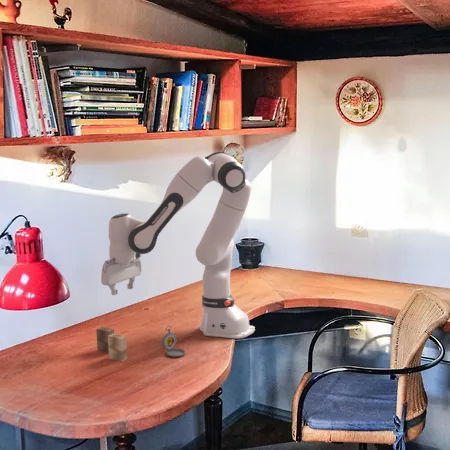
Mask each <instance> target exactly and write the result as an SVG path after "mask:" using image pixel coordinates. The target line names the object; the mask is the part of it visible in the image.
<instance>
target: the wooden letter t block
mask: <svg viewBox="0 0 450 450" xmlns="http://www.w3.org/2000/svg"><path fill="white" fill-rule="evenodd" d="M127 340H128V339H127V335H123V334H117V333H114V334H111V335H109V336H108V348H109V353H108V359H110V360H112V361H113V360H114V361H118V362H123V361H124V362H125V360H128V347H127V346H128V345H127V343H128V342H127Z"/></svg>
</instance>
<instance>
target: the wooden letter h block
mask: <svg viewBox="0 0 450 450" xmlns="http://www.w3.org/2000/svg"><path fill="white" fill-rule="evenodd" d="M95 333H96V346H97V347H96V348H97V352H100V353H105V354H109V348H108V336H109V335H111V334H115V328H110V327H106V326H100V327H97V328H96V332H95Z"/></svg>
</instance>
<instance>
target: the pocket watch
mask: <svg viewBox="0 0 450 450" xmlns="http://www.w3.org/2000/svg"><path fill="white" fill-rule="evenodd" d="M171 330H172V326H170V325H168V326H166V328H165V331H167V333H165V334H164V336H163V338H162V340H161V346H162V349H164V350H165V351H167V352H166V355H167V356H168V357H171V358H179V357H180V358H181V357H183V356H185V354H186V350H185V349H182V348H175V347H176V345H177V341H178V340H177V335H176V333H174V332H173V331H171Z"/></svg>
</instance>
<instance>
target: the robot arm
mask: <svg viewBox="0 0 450 450" xmlns="http://www.w3.org/2000/svg"><path fill="white" fill-rule="evenodd" d="M213 181H215V182H216V183H217V184H219V185H220V186H221V187H222V192H221V194H220V196H219V197H220V198H219V200H218V202H217V205H216V208H215V210H214V213H213V215H212V218H211V220H210V222H209V224H208V226H207V227H206V229H205V231H204V233H203V235H202V237H201V239H200V241H199V243H198V245H197V246H196V249H195V257H196V259H197V261H198V262H199V263H200V264H201V265H203V266H204V270H203V273H202V296H201V305H202V317H201V324H200V327H199V330H200V331H201V332H202V335H203V336H208V337H217V338H219V337H220V338H225V339H227V338H228V339H243V338H246V337H248V336H250V335H252V334H254V332H255V331H256V329H255V328H256V327H255V326H254V325H250V320H249V317H248V315H247V314H246V313H245V312H244V311H243V310H242V309H240V307H239V306H237V305H236V303H235V301H236V300H237V297H236V296H235V297H233V296H232V294H231V271H232V270H231V269H232V265H233V264H232V263H233V262H232V261H233V252H234V248H235V241H234V236H235V234H236V232H237V231H238V229H239V227H240V225H241V222H242V220H243V217H244V215H245V213H246V210H247V208H248V204H249V201H250V198H251V197H250V196H251V194H252V193H251V191H252V185H251V183H250V182H249V181H248V180H247V179H246V171H245V168H244V167H243V165H242V164H241V163H239V162H238V160H237V159H236V158H235V157H233V156H230V155H229V154H228V153H227V152H224V151H216V152H213V153H210V154H209V155H207V156H205V157H203V156H199V155H198V156H195V157H193V158H192V159H191V160H189V161H188V162H187V163H186V164H184V165H183V167H181V168H180V169H179V171H177V173H176V174H175V175H174V176H173V178H172V180H171V181H170V182H169V185H168V186H167V188H166V191H165V194H164V195H163V196H164V197H163V199H162V201H161V203H160V204H159V206H158V207H157V208H156V210H155V211H154V212H153V214H151V215H150V217H149V218H148V220H146V221H145V220H141V219H138V218H137V217H134V216H132V215H131V214H130V213H127V212H126V213H120V214H116V215H113V216H112V217H111V218H110V219H109V222H108V223H109V224H108V239H109V249H108V250H109V252H108V253H109V259H107V260H105V261H104V263H103V264H102V267H101V275H100V276H101V277H100V279H101V280H100V282H101V284H102V285H103V286H106V287H107V286H108V287H109V289H110V291H111V294H110V295H112V296H116V295H118V294H119V293H118V289H116V284H119V283H122V282H123V281H126V280H128V284H127V285H126V287H127V290H132V289H134V283H135V281H136V277H139V276H141V275H142V272H143V262H142V255H145V254H149V253H150V252H152V251H153V249H155V246H156V243H157V240H158V237H159V236H160V233H162V231H163V229H164V228H165V227H166V226H167V225H168V223H169V222H170V221H171V220H172V218H174V216H175V215H177V214H178V213H179V212H180V211H181V210H182V209H184V207H186V206H187V205H188V204H189V203H191V202H192V201H193V200H194V199H195V198H196V197H197V196H198V195H199V194H200V192H202V190H203V189H204V188H205V186H207V185H208V184H209V183H211V182H213Z"/></svg>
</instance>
